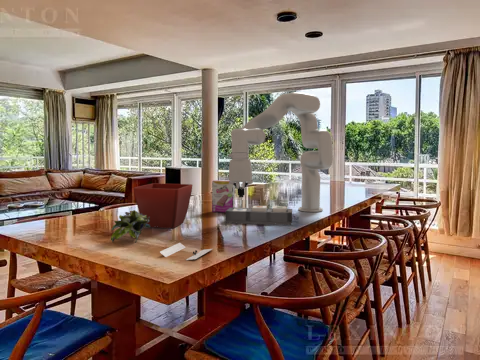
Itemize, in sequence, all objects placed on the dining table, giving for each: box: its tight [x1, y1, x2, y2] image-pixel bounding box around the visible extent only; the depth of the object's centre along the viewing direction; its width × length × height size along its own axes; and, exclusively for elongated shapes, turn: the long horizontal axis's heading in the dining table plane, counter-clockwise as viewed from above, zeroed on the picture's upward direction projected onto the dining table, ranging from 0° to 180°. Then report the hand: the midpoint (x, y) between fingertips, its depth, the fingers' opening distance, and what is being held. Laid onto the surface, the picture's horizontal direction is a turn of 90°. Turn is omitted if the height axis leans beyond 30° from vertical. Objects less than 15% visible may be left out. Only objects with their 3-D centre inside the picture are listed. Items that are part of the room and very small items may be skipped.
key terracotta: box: [251, 205, 268, 212], centre depth 163 cm, size 6×6×3 cm
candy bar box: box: [211, 179, 235, 213], centre depth 187 cm, size 11×5×16 cm, turn 84°
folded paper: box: [159, 242, 213, 261], centre depth 111 cm, size 12×12×2 cm
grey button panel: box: [224, 207, 293, 226], centre depth 163 cm, size 14×29×5 cm, turn 81°
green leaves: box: [109, 209, 151, 244], centre depth 127 cm, size 13×12×14 cm
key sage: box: [272, 205, 288, 212], centre depth 161 cm, size 6×6×3 cm
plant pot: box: [133, 182, 193, 229], centre depth 153 cm, size 19×19×17 cm
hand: (241, 196), depth 164 cm, fingers closed
